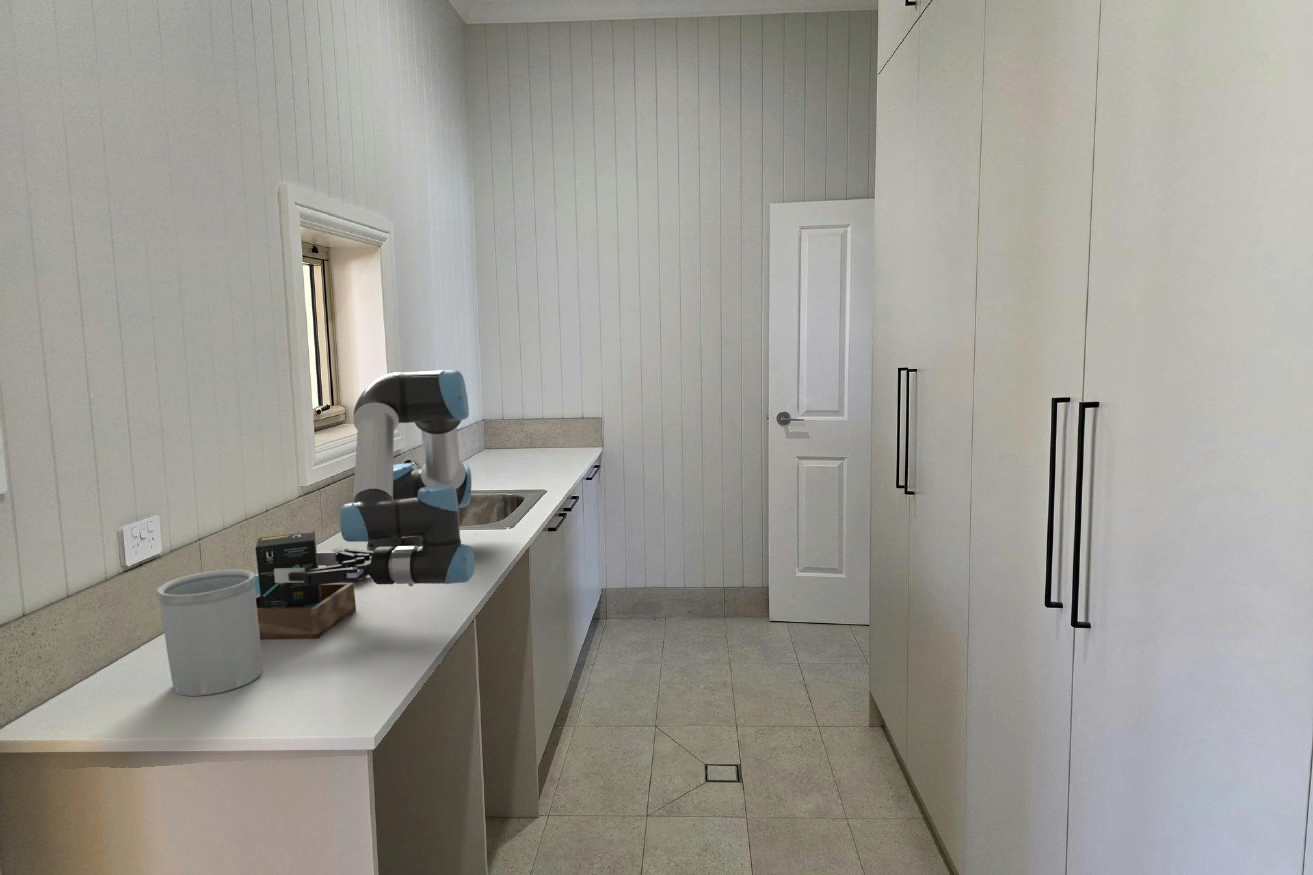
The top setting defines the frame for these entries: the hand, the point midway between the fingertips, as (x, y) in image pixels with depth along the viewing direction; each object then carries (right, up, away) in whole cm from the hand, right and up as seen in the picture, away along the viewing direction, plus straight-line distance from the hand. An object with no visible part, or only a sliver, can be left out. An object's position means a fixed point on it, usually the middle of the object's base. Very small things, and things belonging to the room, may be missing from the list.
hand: (290, 566), depth 172 cm
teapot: (-12, -10, +20) cm, 26 cm away
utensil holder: (-1, -16, -26) cm, 31 cm away
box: (+1, -12, +1) cm, 12 cm away
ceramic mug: (0, -8, +34) cm, 35 cm away
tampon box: (0, -9, +1) cm, 9 cm away
